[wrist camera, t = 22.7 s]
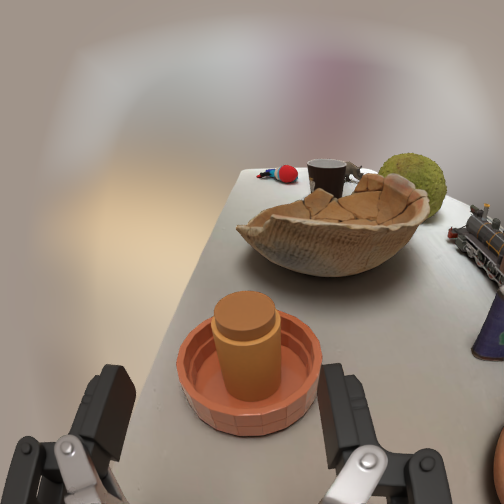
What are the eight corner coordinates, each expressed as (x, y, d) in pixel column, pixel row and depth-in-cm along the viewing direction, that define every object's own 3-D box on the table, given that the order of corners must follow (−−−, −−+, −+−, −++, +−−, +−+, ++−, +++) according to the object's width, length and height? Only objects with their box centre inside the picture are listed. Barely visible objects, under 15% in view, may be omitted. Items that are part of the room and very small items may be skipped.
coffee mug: (345, 214, 62) (347, 168, 57) (305, 212, 64) (305, 167, 60) (344, 196, 72) (345, 157, 67) (309, 194, 74) (309, 155, 69)
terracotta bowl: (179, 436, 23) (164, 413, 21) (196, 338, 34) (188, 309, 32) (326, 433, 22) (333, 408, 20) (308, 333, 34) (310, 303, 31)
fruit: (386, 229, 55) (366, 155, 54) (383, 226, 68) (368, 165, 68) (460, 212, 48) (439, 138, 48) (444, 212, 61) (428, 151, 61)
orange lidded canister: (222, 402, 26) (204, 335, 21) (226, 358, 30) (212, 289, 26) (282, 400, 25) (283, 332, 21) (279, 356, 30) (278, 286, 26)
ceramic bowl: (274, 204, 64) (283, 136, 56) (397, 239, 57) (419, 172, 49) (205, 289, 41) (204, 186, 32) (398, 351, 34) (452, 256, 25)
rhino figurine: (364, 187, 78) (365, 166, 75) (321, 179, 86) (321, 159, 83) (369, 183, 80) (370, 163, 78) (327, 176, 89) (327, 156, 86)
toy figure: (254, 182, 91) (286, 184, 79) (253, 166, 90) (285, 166, 77) (274, 179, 95) (307, 181, 83) (273, 164, 93) (305, 164, 81)
